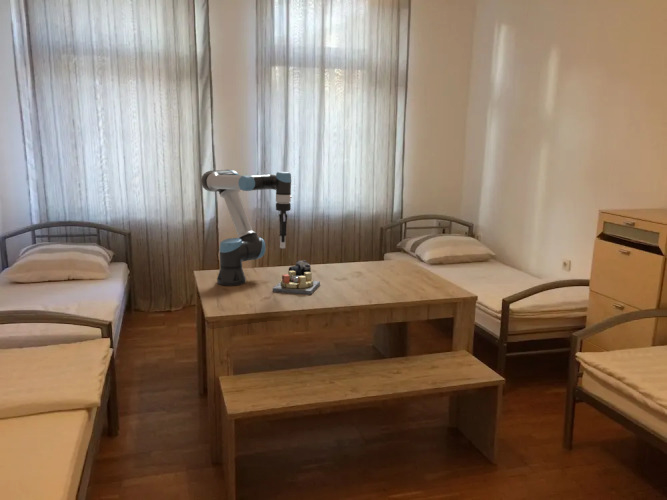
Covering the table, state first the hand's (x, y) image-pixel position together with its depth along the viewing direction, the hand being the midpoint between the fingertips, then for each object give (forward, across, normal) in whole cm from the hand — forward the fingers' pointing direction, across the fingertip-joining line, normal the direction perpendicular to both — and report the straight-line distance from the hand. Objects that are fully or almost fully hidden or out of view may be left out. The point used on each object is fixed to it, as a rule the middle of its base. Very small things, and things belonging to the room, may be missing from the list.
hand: (282, 247), depth 298 cm
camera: (+22, +19, -11) cm, 31 cm away
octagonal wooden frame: (+19, -3, -7) cm, 20 cm away
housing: (+21, -3, -7) cm, 22 cm away
